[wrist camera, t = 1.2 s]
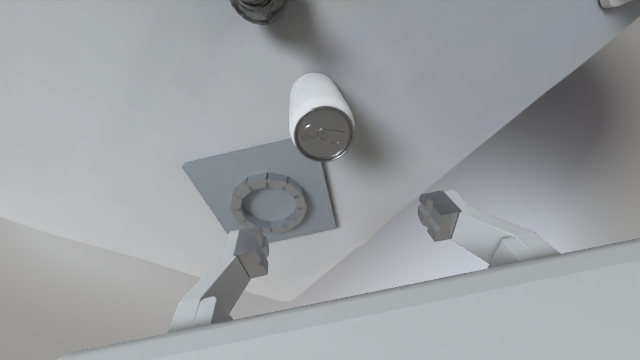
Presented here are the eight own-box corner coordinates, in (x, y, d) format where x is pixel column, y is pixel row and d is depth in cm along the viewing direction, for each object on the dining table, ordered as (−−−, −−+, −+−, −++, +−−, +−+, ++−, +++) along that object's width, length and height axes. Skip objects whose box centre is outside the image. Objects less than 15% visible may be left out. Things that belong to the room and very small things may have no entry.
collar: (295, 165, 35) (295, 172, 34) (312, 218, 42) (312, 225, 41) (220, 182, 36) (217, 189, 34) (249, 231, 43) (248, 239, 41)
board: (314, 133, 34) (315, 136, 33) (335, 223, 46) (336, 228, 45) (185, 162, 34) (181, 166, 33) (238, 244, 46) (237, 249, 45)
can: (296, 64, 28) (298, 91, 18) (344, 80, 30) (370, 112, 20) (285, 114, 32) (282, 158, 22) (329, 125, 33) (344, 171, 24)
